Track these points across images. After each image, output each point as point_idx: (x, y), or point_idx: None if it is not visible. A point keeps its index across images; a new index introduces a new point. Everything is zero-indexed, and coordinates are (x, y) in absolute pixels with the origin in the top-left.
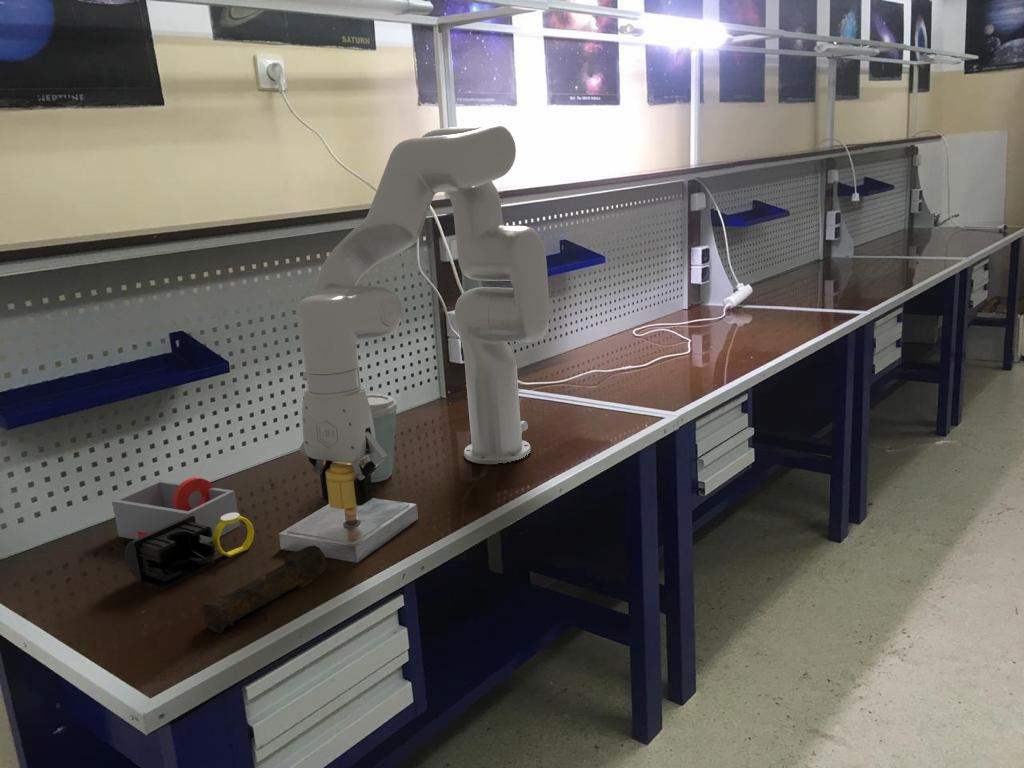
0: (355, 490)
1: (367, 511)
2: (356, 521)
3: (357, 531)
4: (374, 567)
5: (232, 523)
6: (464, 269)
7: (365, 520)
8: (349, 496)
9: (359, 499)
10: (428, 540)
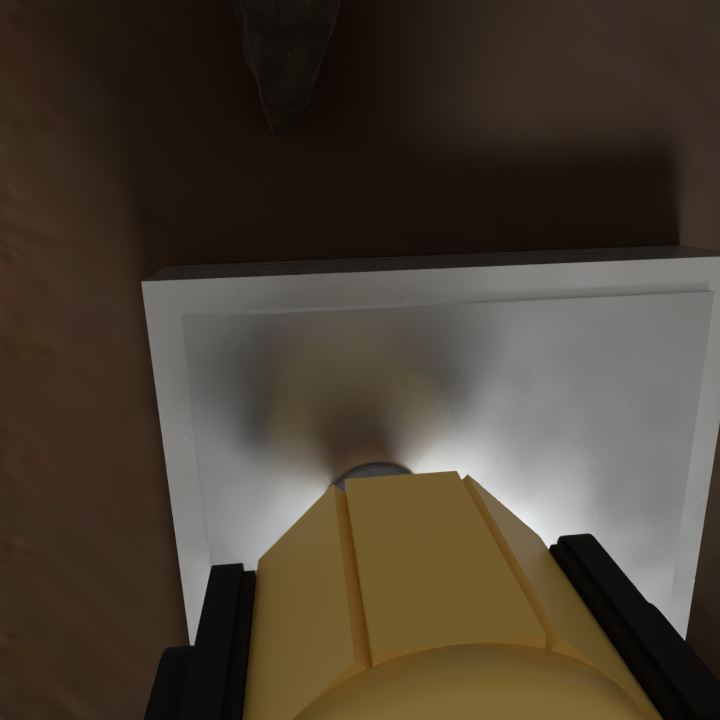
0: (226, 661)
1: None
2: None
3: (272, 446)
4: (33, 257)
5: None
6: None
7: None
8: (292, 589)
9: (207, 602)
10: (4, 602)
